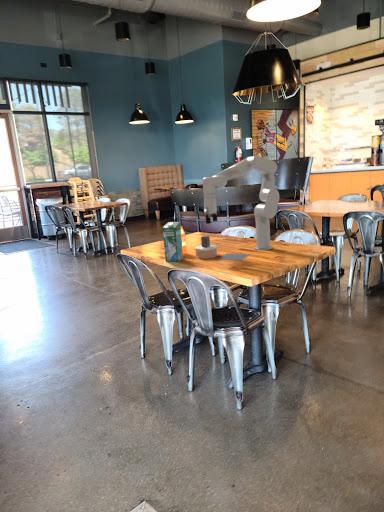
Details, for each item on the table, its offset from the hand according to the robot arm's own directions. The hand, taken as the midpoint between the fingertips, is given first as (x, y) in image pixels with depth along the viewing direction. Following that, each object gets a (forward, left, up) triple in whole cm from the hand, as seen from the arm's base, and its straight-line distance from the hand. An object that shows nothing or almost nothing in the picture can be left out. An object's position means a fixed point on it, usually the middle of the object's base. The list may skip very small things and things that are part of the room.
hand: (211, 222), depth 253 cm
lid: (+2, -4, -17) cm, 18 cm away
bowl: (+2, -4, -23) cm, 24 cm away
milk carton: (+14, -22, -24) cm, 35 cm away
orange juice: (-3, -29, -24) cm, 38 cm away
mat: (0, +15, -23) cm, 27 cm away
